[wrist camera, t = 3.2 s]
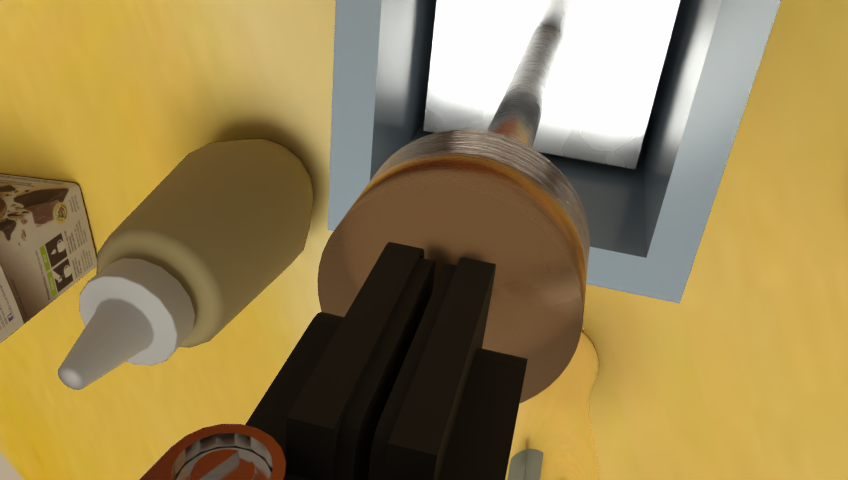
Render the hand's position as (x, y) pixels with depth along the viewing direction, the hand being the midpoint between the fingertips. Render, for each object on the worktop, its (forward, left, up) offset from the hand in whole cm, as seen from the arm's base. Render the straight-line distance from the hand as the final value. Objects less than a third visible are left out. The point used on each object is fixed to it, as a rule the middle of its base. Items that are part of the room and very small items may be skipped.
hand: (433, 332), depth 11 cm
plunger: (0, 0, -19) cm, 19 cm away
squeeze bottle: (+15, +13, -27) cm, 34 cm away
